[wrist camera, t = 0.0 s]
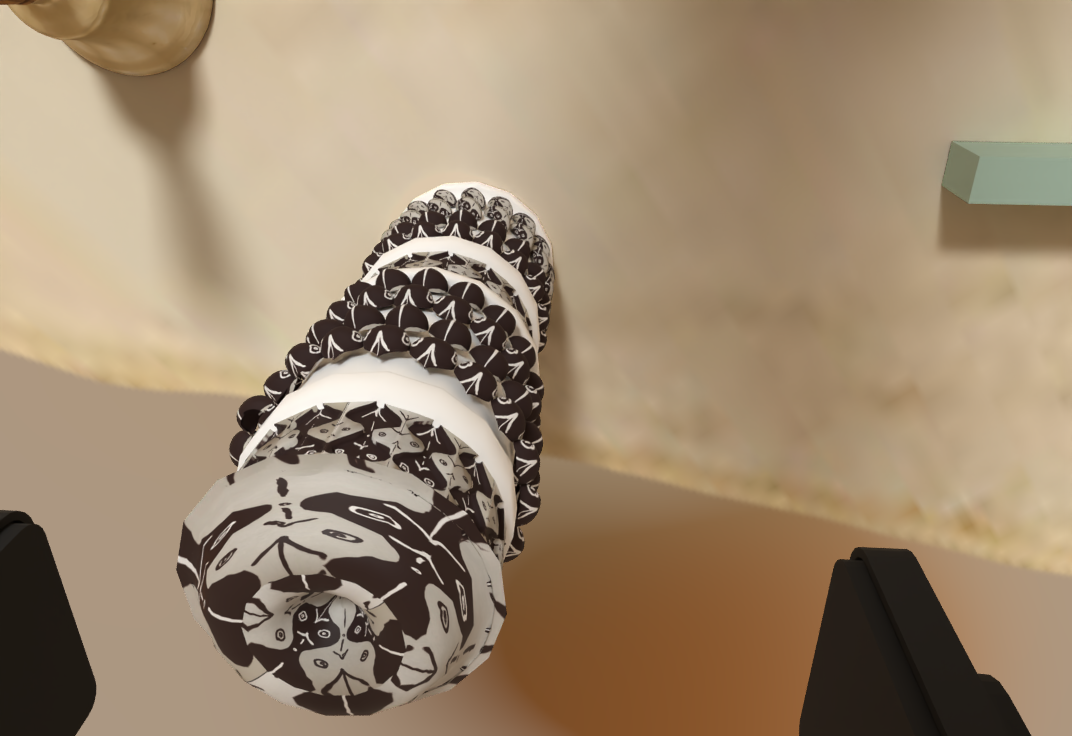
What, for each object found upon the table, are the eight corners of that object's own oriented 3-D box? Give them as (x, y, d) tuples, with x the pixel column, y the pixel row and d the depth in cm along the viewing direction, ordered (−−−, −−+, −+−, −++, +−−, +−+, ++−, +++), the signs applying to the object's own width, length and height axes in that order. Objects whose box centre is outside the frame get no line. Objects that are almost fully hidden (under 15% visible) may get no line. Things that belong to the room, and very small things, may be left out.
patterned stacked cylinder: (461, 379, 44) (327, 820, 22) (341, 247, 41) (43, 603, 19) (599, 283, 41) (606, 681, 19) (480, 133, 38) (322, 397, 16)
